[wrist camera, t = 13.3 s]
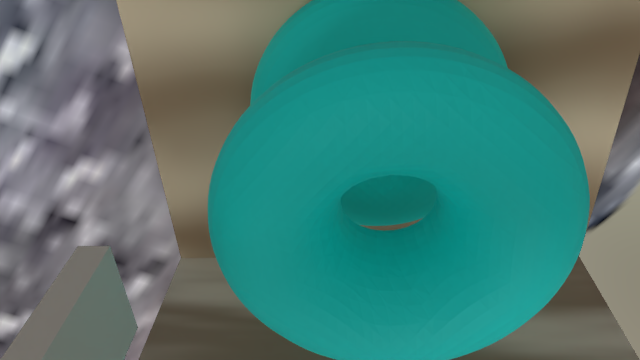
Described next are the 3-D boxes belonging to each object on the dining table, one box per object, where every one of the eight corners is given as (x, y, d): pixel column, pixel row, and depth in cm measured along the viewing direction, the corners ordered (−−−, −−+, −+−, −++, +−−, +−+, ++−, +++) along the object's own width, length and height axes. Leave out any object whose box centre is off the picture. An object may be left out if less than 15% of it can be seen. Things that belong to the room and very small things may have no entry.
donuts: (384, -46, 9) (699, 246, 12) (366, -92, 17) (552, 85, 20) (123, 275, 13) (401, 427, 16) (211, 113, 22) (383, 233, 25)
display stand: (525, 191, 32) (682, 483, 17) (218, 195, 34) (113, 470, 18) (604, -194, 22) (1201, -322, 7) (152, -168, 23) (-228, -223, 8)
